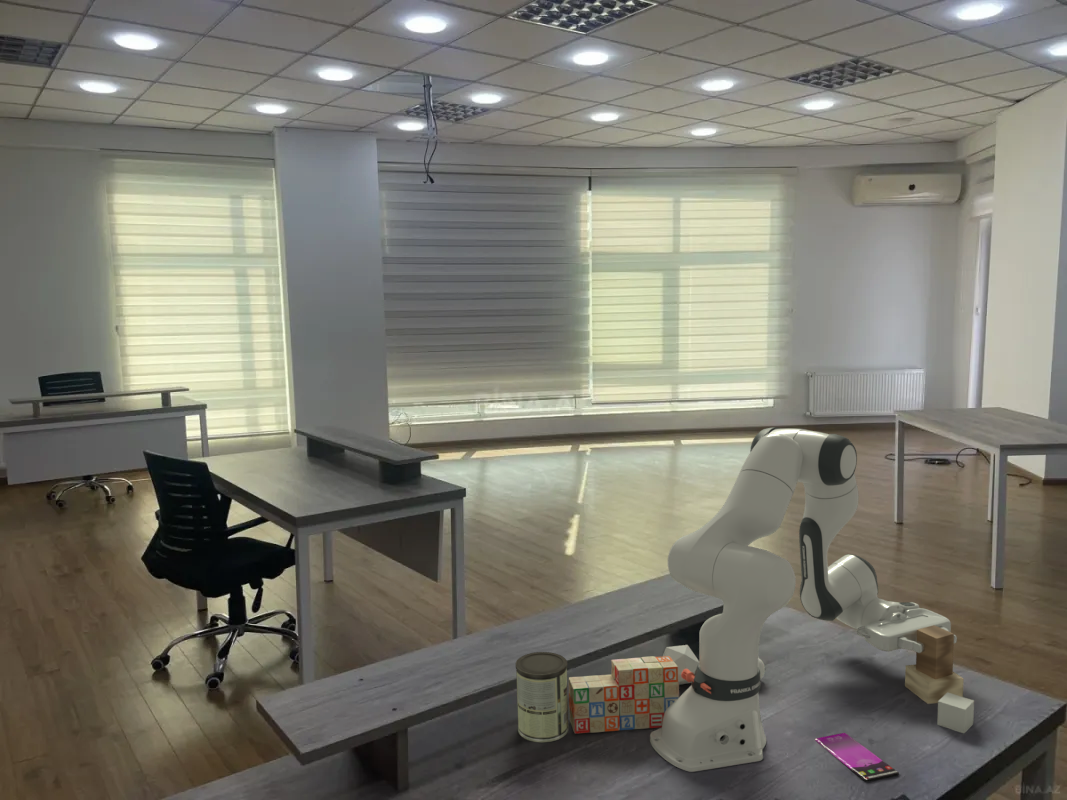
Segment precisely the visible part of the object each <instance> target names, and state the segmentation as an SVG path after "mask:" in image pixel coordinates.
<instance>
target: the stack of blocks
mask: <svg viewBox="0 0 1067 800" xmlns="http://www.w3.org/2000/svg"><path fill="white" fill-rule="evenodd" d="M610 662H611V670H610V671H611V674H610V673H609V674H601V675H584V676H570V677H568V707H569V708H568V711H569V712H568V714H569V722H570V725H571V728H572V730H573V732H574V734H585V733H586V734H587V733H602V732H615V731H617V732H618V731H627V730H628V731H629V730H642V729H656V728H657V729H660V728H662V723H663V717H664V713H665V711H666V709H667V708H668V707H669V706H670V705H672V704H673V703H674V702H675V701H676V700H677V699H678V698H679V697H680V690H679V689H680V685H679V681H678V666H677V665H676V664H675V662H674V661H673V660H672V659H671V658H670V656H664V657H662V656H655V655H654V656H653V655H652V656H642V657H641V656H640V657H632V658H631V657H630V658H619V659H618V658H617V659H611V660H610Z"/></svg>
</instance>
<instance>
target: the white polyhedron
mask: <svg viewBox="0 0 1067 800" xmlns="http://www.w3.org/2000/svg"><path fill="white" fill-rule="evenodd" d="M664 656H670V658H671V659H672V660H673V661H674V662H675V664H676V665H677V666H678V681H679V686H680V685H686V684H687V685H688V684H691V683H692V682H687V681H686V680H685V679H683V678H682V677H681V674H682V673H681V672H683V670H684V669H688V670H690V672H693V673H694V674H695V671H696V668H697V666H698V664H699V659H698V658H697V656H696V655H695V653H694V652H693V650H692V649H691V648H690V646H689V645H688V644H685V645H684V644H683V645H674V646H666V647H665V649H664V652H663V654H662V656H661V657H664Z"/></svg>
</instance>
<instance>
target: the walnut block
mask: <svg viewBox="0 0 1067 800" xmlns="http://www.w3.org/2000/svg"><path fill="white" fill-rule="evenodd" d="M954 635H955V633H953V632H949V631H946V630H944V629H942V628H940V627H937V626H935V625H933V626H929V627H925V628H922V629H918V630H917V641H919V642H921V643H924V644H925V651H924V652H921V653H918V652H915V653H916V656H915V664H916V670H918V671H920V672H922V673H924V674H926V675H928V676H930V677H932V678H934V679H938V678H942V677H945V676H948V675H952V674H953V672H954V651H955V650H954V644H955V643H954Z"/></svg>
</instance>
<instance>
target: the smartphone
mask: <svg viewBox="0 0 1067 800" xmlns="http://www.w3.org/2000/svg"><path fill="white" fill-rule="evenodd" d="M814 740H815V742H816V743H817V744H818V745H819V746H821V747H822V748H823V749H824V750H826V751H827V752H828V753H829V754H830V755H832V756H833V757H834V758H836V760H838V762H840V763H841V764H843V765H844V766H845V767H847V769H849V770H850V771H851V772H853V774H855V775H856V776H858V778H861V780H863V781H864V782H867V783H868V782H872V781H873V782H874V781H876V780H877V781H878V780H882V779H886V778H891V777H896V776H899V774H900V773H899V771H898V770H896V769H895V768H893V767H892V766H891V765H889V764H888V763H887V762H885V761H884V760H883V759H881V758H880V757H878V756H877V755H876V754H875V753H873V752H872V751H871V750H869V749H868V748H867V747H865V746H864V745H862V744H861V743H860V742H859V741H857V740H856V739H855V738H854V737H851V736H850V735H849V734H847V733H846V732H841V733H836V734H832V735H826V736H821V737H817V738H814Z"/></svg>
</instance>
